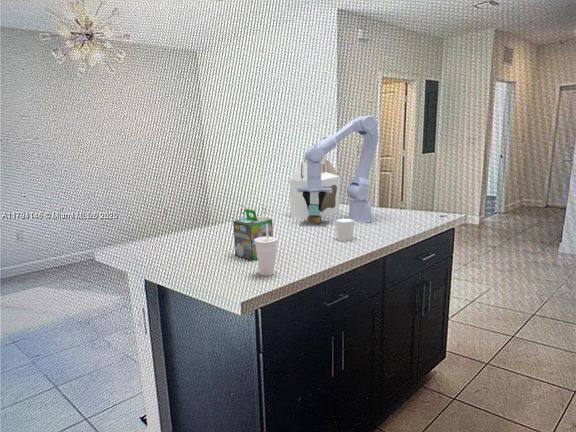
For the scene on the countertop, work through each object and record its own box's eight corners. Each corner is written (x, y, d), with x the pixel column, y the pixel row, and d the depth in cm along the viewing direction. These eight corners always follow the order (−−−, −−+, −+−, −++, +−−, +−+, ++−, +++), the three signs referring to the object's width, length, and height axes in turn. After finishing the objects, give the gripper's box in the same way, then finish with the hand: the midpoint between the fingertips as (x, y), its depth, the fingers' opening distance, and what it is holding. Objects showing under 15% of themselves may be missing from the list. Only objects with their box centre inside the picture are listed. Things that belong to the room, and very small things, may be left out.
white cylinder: (331, 238, 147) (331, 219, 146) (347, 235, 150) (347, 217, 149) (342, 242, 141) (342, 223, 140) (358, 240, 144) (358, 220, 143)
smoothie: (272, 278, 108) (271, 227, 105) (251, 275, 110) (248, 225, 107) (281, 270, 114) (280, 221, 111) (261, 268, 116) (259, 220, 113)
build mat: (329, 221, 174) (329, 221, 174) (325, 227, 164) (325, 226, 164) (304, 221, 177) (304, 220, 177) (298, 226, 166) (298, 225, 166)
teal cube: (319, 213, 170) (319, 204, 170) (318, 215, 167) (318, 205, 166) (310, 213, 171) (310, 203, 171) (308, 215, 168) (308, 205, 167)
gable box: (314, 221, 176) (314, 156, 171) (290, 218, 184) (288, 155, 179) (339, 212, 194) (340, 153, 188) (316, 210, 202) (315, 153, 196)
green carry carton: (274, 254, 129) (273, 208, 126) (252, 261, 123) (250, 213, 120) (256, 249, 136) (254, 205, 133) (234, 255, 129) (231, 209, 127)
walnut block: (321, 222, 172) (321, 215, 171) (319, 224, 167) (319, 217, 167) (309, 221, 173) (309, 215, 173) (307, 224, 168) (307, 217, 168)
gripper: (294, 178, 164) (295, 211, 167) (330, 178, 161) (330, 212, 163) (298, 176, 171) (298, 207, 174) (332, 176, 167) (332, 208, 170)
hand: (314, 209), depth 169 cm, fingers closed on teal cube, 4 cm apart
